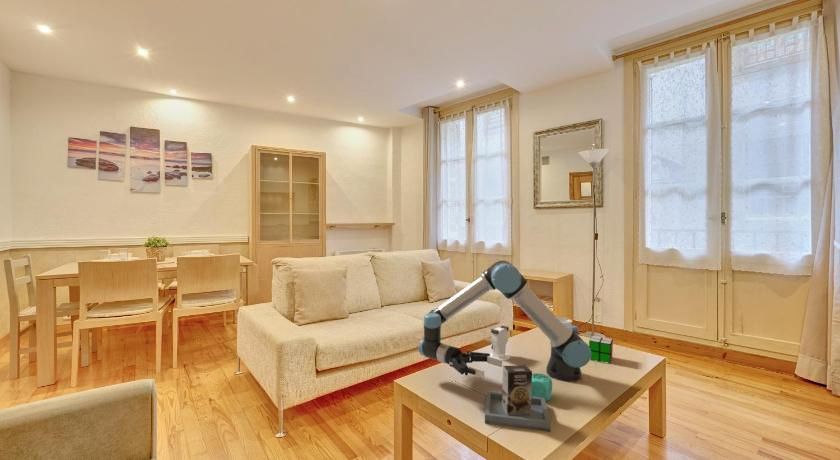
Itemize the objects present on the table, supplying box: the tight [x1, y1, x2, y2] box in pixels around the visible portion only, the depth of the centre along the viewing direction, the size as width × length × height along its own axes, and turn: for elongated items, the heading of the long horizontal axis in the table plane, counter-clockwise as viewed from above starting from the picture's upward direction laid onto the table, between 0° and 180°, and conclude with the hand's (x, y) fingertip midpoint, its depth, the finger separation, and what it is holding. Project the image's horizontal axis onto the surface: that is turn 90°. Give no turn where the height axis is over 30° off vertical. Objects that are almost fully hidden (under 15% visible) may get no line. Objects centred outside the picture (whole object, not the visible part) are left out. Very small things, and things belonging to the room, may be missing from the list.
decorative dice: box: [531, 373, 553, 402], centre depth 151 cm, size 8×8×8 cm
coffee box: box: [501, 364, 533, 416], centre depth 138 cm, size 9×6×16 cm
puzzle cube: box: [588, 335, 614, 364], centre depth 193 cm, size 10×10×10 cm
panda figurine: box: [489, 325, 511, 362], centre depth 194 cm, size 12×11×15 cm
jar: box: [556, 316, 573, 325], centre depth 211 cm, size 11×10×15 cm
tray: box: [484, 391, 551, 432], centre depth 138 cm, size 22×18×3 cm
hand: (493, 368), depth 145 cm, fingers open, 13 cm apart
